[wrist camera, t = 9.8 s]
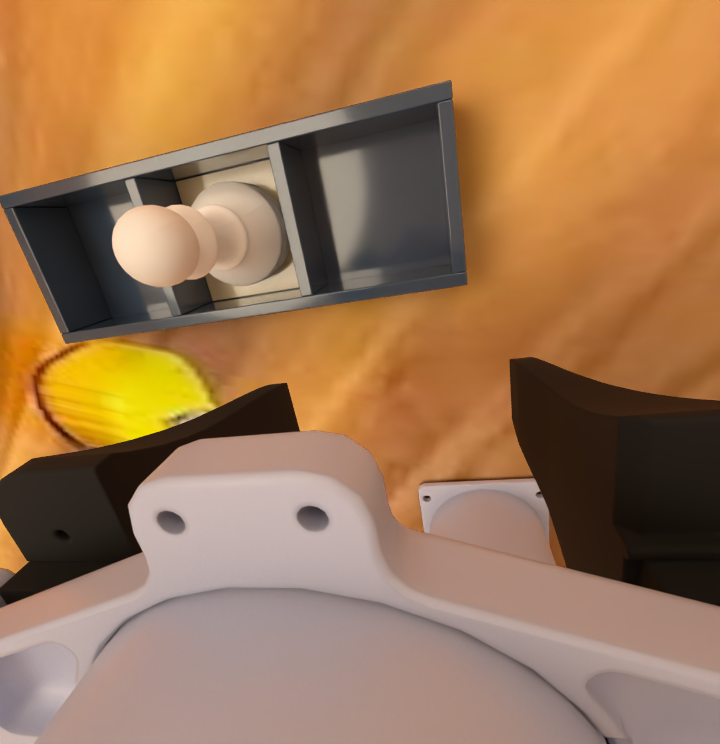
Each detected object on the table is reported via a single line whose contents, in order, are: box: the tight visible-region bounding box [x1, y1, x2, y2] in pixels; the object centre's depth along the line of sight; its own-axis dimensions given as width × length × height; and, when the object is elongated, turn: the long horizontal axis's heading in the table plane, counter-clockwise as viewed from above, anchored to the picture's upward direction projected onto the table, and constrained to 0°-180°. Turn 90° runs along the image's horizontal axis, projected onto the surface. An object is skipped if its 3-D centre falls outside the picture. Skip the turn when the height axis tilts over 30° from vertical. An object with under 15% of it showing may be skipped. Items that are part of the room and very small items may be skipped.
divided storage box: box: [0, 80, 468, 344], centre depth 20 cm, size 8×22×4 cm, turn 100°
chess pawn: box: [112, 181, 290, 287], centre depth 17 cm, size 5×5×9 cm
